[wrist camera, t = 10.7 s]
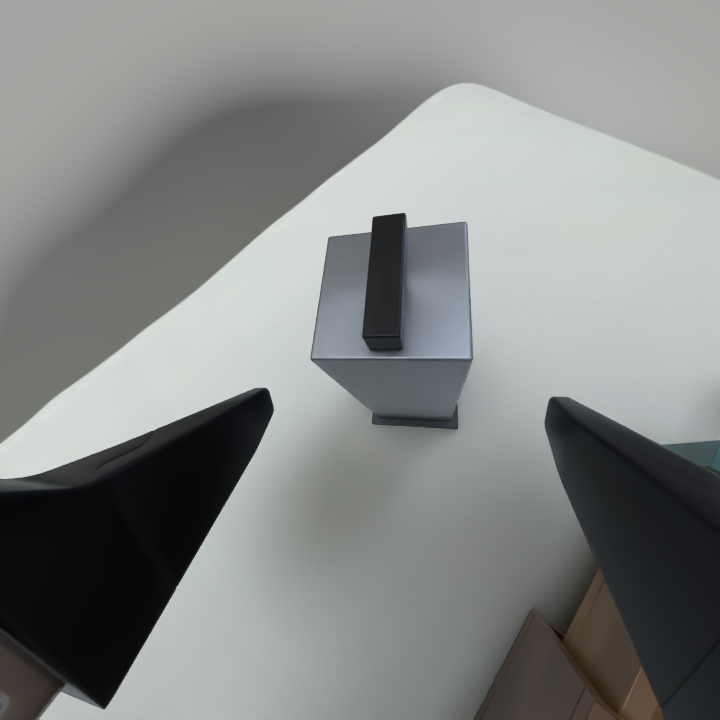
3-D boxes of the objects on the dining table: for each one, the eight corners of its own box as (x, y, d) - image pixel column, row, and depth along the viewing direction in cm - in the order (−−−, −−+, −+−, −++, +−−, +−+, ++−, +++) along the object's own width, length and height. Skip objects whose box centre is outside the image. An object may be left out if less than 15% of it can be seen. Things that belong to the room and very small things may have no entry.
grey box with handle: (457, 429, 18) (498, 364, 6) (373, 424, 19) (279, 362, 8) (455, 349, 20) (485, 182, 8) (378, 349, 21) (308, 207, 9)
